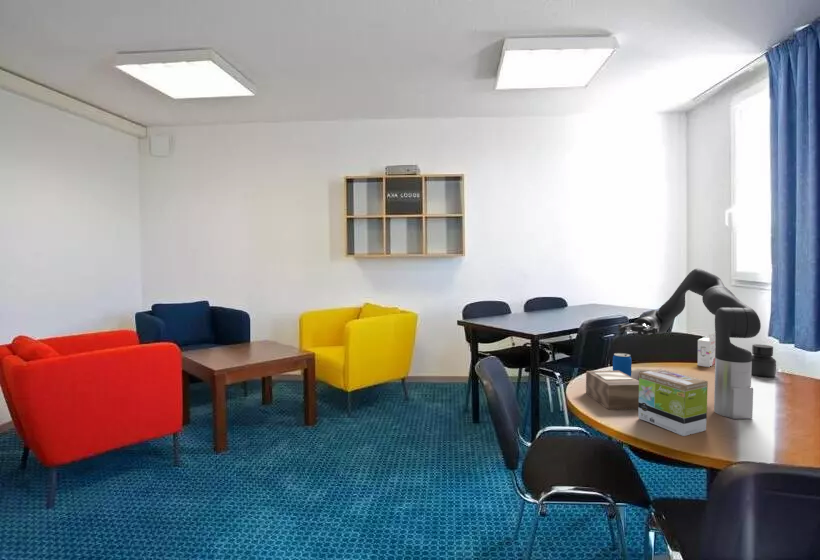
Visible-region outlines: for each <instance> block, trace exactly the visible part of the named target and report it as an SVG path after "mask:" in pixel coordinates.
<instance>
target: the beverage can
mask: <svg viewBox="0 0 820 560" xmlns="http://www.w3.org/2000/svg"><path fill="white" fill-rule="evenodd" d="M612 371H621V372H623V373H625V374H627V375H629V376H630V377H632V356H631V354H629V353H623V352H615V353H613V356H612Z"/></svg>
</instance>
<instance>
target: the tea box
mask: <svg viewBox="0 0 820 560" xmlns="http://www.w3.org/2000/svg"><path fill="white" fill-rule="evenodd" d="M638 373H639V374H638V381H639V403H638V409H637V411H638V412H637V413H638V415H637V416H638V419H639V420H641V421H645V422H648V423H650V424H653V425H655V426H658V427H660V428H662V429H665V430H666V431H667V430H668V431H670V432H671V433H672V432H673V433H674V434H676V435H679V436H682V437H685V436H690V434H691V435H693V434H698V433H701V432H704V431H707V418H708V417H707V414H708V412H707V411H708V389H709V388H708V385H709V384H708V383H709V381H708V380H704V379H701V378H698V377H694V376H690V375H685V374H682V373H678V372H674V371H670V370H666V369H663V368H659V369H653V370H648V371H643V372H638Z"/></svg>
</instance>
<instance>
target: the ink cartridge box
mask: <svg viewBox="0 0 820 560" xmlns="http://www.w3.org/2000/svg"><path fill="white" fill-rule="evenodd" d="M715 356H716V350H715V332H714V331H713V332H711V333H708V337H702V338H699V339H697V367H698V366H699V367H706V368H711V367H712V366H715V358H716V357H715ZM710 366H711V367H710Z"/></svg>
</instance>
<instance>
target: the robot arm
mask: <svg viewBox="0 0 820 560" xmlns="http://www.w3.org/2000/svg"><path fill="white" fill-rule="evenodd" d="M688 291H690V292H692V293H694V294H697V295H698V296H700V297H701V298H702V299H701V300H702V303H703V305H704V306H705V308H706V309H707V311H708V312H709V313H710V314H712V315H714V331H715V364H714V390H713V391H714V393H713V394H714V396H713V398H714V400H713V401H714V402H713V403H714V405H713V411H714V413H716V414H717V415H719V416H722V417H727V418H730V419H732V420H736V419H737V420H740V419H742V420H743V419H744V420H746V419H753V415H754V414H753V409H754V406H753V405H754V388H753V386H752V375H751V370H752V355H753V354H752V351H750V350H748V349H745V348H742V347H739V346H737V345H734V344H733V343H732V342H731V338H734V339H735V338H736V339H749V338H754V337H756V336H758V335H759V333H760V332H761V327H762V326H761V318H760V316H759V315H758V313H757V312H756V311H755V310H754V309H753V308H751V306H748V305H747V304H745V303H744V302H742V301H741V300H740V299H738V298H737V297H736V296H735V294H734V293H733V292H732V291H731V290H730V289H728V288H727V287H726V286H725V285H724V283H723V281H722V278H720V277H719V276H717V275H715V274H714V273H710V272H708V271H707V270H703V269H701V268H694V269H693V270H692V271H690V272H689V273H688V274H687V275H686V276H685V278H684V279H683V280H682V282H681V283H680V284H679V286H678V287H677V288H676V289H675V291H674V292H673V294H672V295H671V296H670V297H669V299H668V300H666V302H664V303H663V305H660V307H659V308H658V310H657V309H654V310H652V309H651V310H650V311H649V312H648V313H646V314H645V316H642V317H640V318H637V319H635V321H634V322H633V323H626V322H625V323H620V324H618V327H617V330H618V331H619V332H620V333H622V334H623V333H625V332H626V333H634V334H636V335H637V336H639V337H647V336H649V335H653V336H655V335H657V334H663V333H666V332H667V331H668V330H669V328H671V325H672V324H673V321H674V319H676V317H678V316H679V315H680V314H681V313H682V312H683V311H684V309H685V307H686V294H687V292H688Z"/></svg>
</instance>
